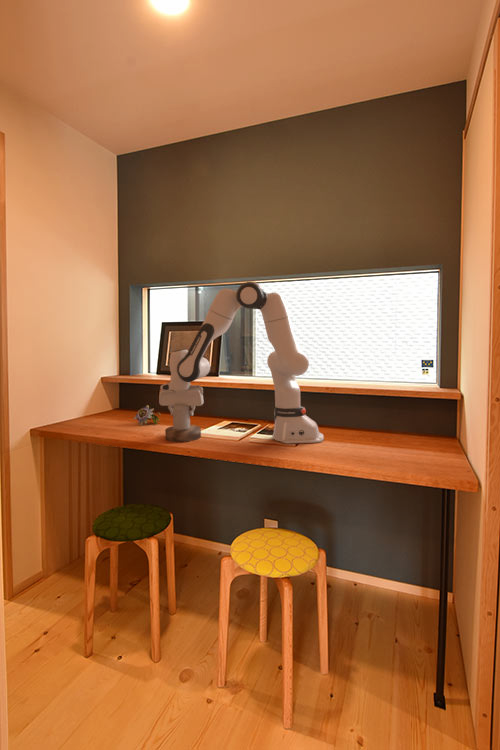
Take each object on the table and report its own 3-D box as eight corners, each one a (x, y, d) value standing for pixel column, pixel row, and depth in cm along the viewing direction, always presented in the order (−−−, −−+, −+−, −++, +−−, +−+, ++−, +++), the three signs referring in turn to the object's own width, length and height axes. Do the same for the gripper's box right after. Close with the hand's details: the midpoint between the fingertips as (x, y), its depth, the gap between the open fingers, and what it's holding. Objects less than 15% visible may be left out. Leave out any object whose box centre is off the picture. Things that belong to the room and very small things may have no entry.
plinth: (205, 433, 192) (204, 424, 192) (194, 442, 176) (194, 433, 176) (173, 432, 195) (172, 424, 194) (160, 441, 179) (159, 433, 179)
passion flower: (142, 435, 213) (128, 417, 213) (153, 426, 223) (139, 409, 223) (156, 424, 209) (141, 406, 208) (166, 416, 219) (152, 399, 218)
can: (185, 431, 179) (184, 405, 178) (170, 431, 182) (169, 404, 180) (193, 427, 186) (191, 402, 185) (178, 427, 189) (177, 401, 187)
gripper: (204, 384, 184) (205, 414, 186) (162, 384, 188) (163, 413, 189) (200, 386, 178) (202, 417, 180) (156, 386, 182) (158, 416, 183)
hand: (182, 415), depth 184 cm, fingers closed on can, 7 cm apart
